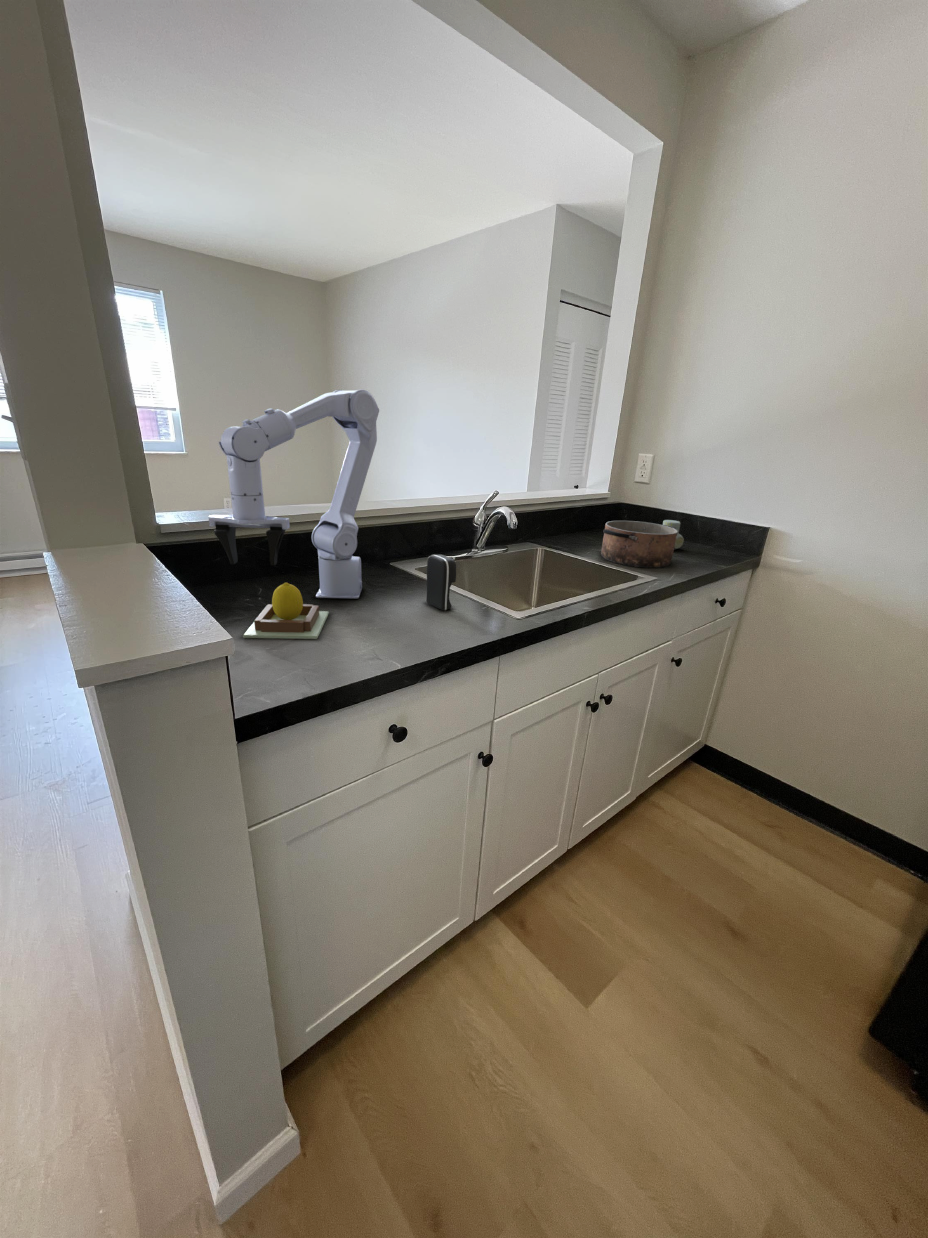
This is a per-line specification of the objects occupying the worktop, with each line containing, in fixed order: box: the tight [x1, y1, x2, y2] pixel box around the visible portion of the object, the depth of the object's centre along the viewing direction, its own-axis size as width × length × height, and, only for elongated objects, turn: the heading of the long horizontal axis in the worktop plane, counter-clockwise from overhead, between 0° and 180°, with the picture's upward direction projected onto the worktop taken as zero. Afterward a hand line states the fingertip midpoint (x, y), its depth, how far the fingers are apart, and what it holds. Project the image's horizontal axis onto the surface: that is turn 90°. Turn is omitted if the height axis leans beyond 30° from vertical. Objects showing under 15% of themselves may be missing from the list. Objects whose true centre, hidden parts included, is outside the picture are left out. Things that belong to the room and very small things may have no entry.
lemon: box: [271, 582, 304, 620], centre depth 94 cm, size 6×6×8 cm
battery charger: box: [425, 554, 457, 611], centre depth 109 cm, size 7×4×11 cm, turn 37°
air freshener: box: [662, 519, 685, 551], centre depth 182 cm, size 11×8×10 cm
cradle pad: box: [242, 603, 330, 640], centre depth 95 cm, size 13×13×3 cm
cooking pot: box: [600, 520, 678, 569], centre depth 162 cm, size 30×22×11 cm
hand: (254, 563), depth 99 cm, fingers open, 7 cm apart
